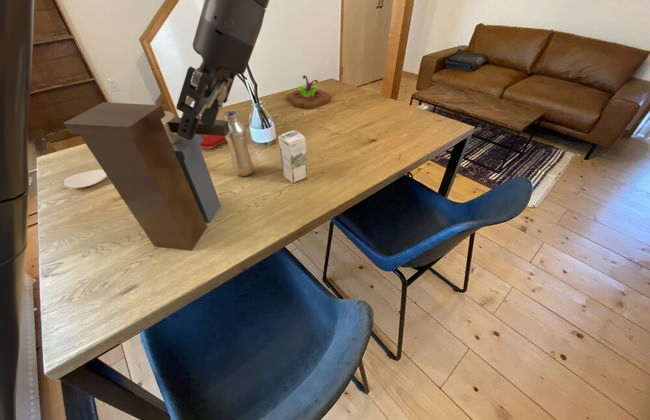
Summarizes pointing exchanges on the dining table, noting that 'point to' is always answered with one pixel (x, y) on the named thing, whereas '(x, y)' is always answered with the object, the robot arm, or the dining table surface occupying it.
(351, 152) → the dining table surface
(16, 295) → the robot arm
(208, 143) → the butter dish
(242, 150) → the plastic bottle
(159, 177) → the tall stand
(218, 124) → the milk pan
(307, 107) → the plant
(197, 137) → the blue-grey block
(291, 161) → the syrup box
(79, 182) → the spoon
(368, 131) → the dining table surface
